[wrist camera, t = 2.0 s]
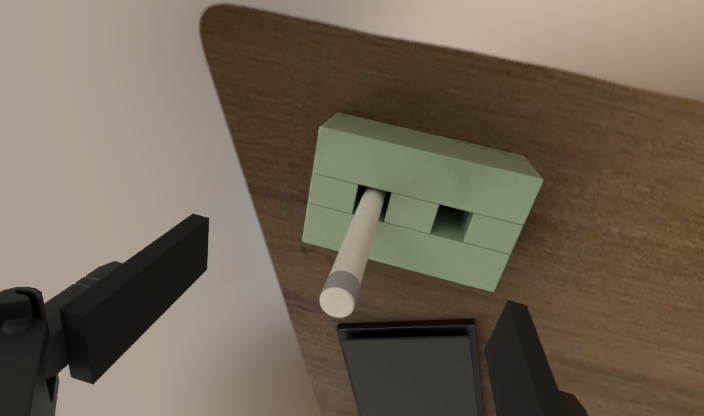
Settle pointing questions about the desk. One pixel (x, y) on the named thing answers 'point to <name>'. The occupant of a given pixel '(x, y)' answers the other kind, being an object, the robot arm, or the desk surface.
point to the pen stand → (421, 198)
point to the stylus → (352, 257)
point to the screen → (412, 375)
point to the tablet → (416, 330)
